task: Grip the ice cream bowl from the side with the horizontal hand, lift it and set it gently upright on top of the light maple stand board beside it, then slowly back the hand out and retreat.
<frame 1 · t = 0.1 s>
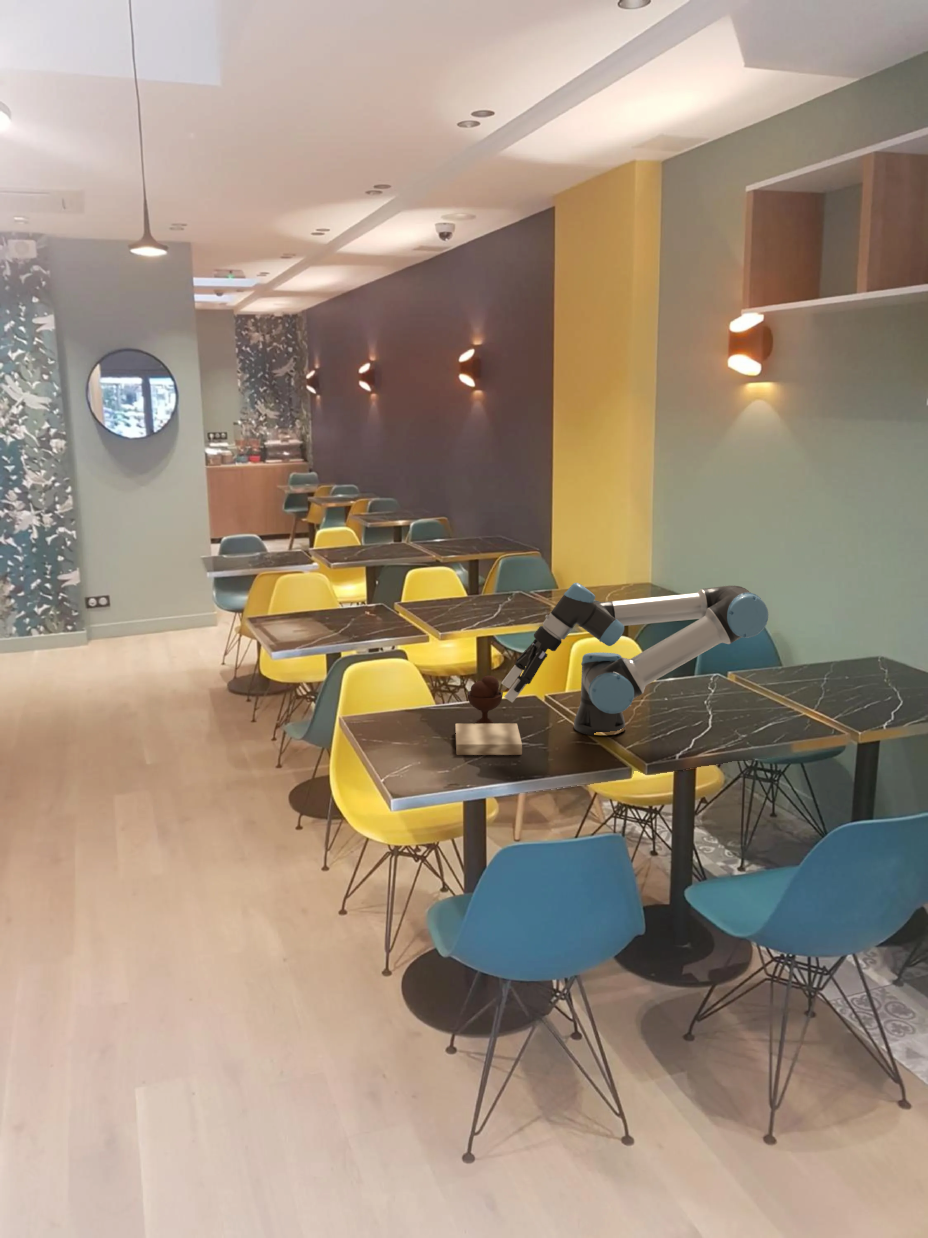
hand: (506, 692, 276), 15 cm above the table, tool tilted 35°, fingers open, 13 cm apart
maple stand board: (487, 743, 279), on the table
ice cream bowl: (484, 724, 297), on the table
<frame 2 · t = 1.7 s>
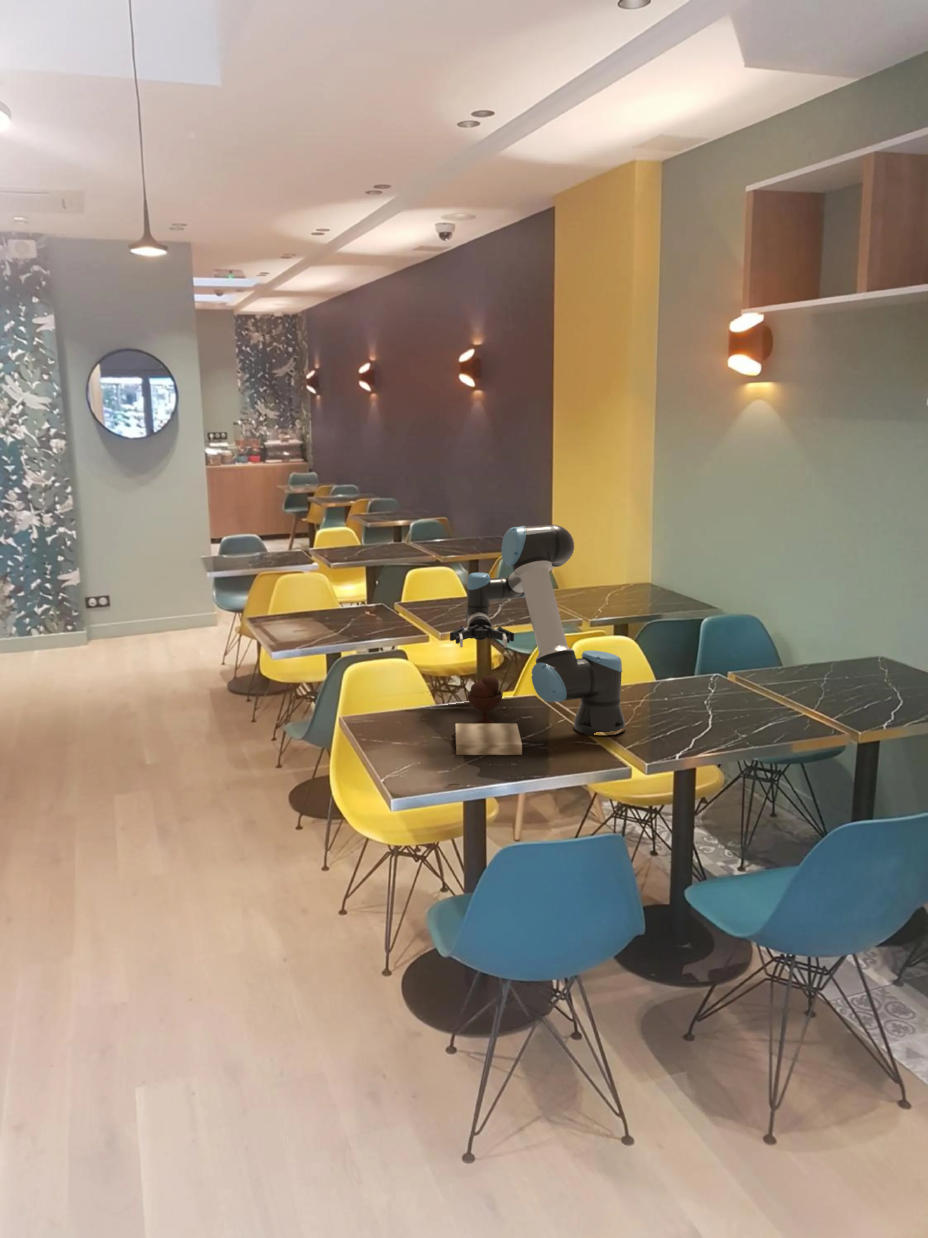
hand: (483, 643, 302), 23 cm above the table, tool horizontal, fingers open, 13 cm apart
nothing on the table moved.
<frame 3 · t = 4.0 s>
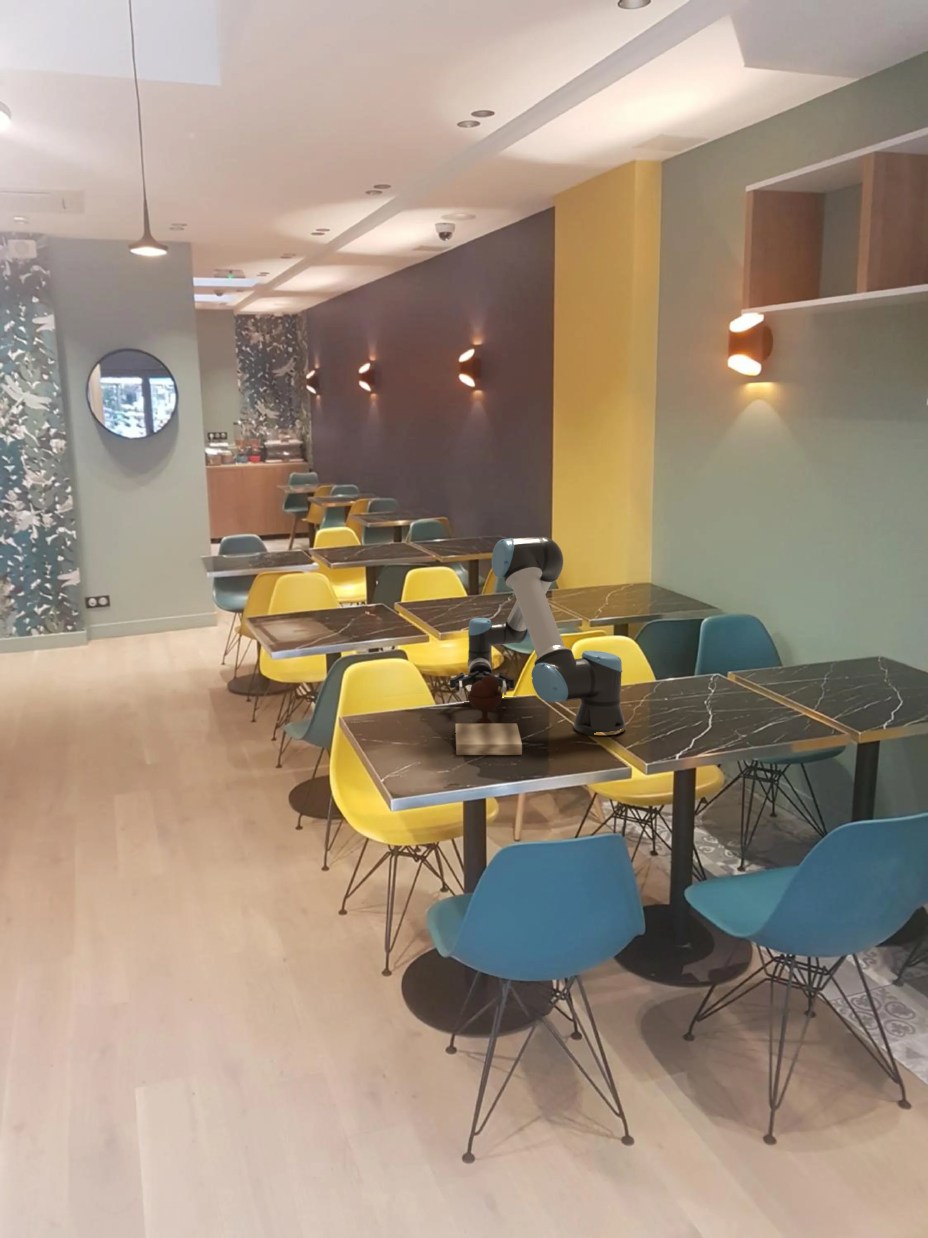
hand: (483, 690, 301), 8 cm above the table, tool horizontal, fingers open, 13 cm apart
nothing on the table moved.
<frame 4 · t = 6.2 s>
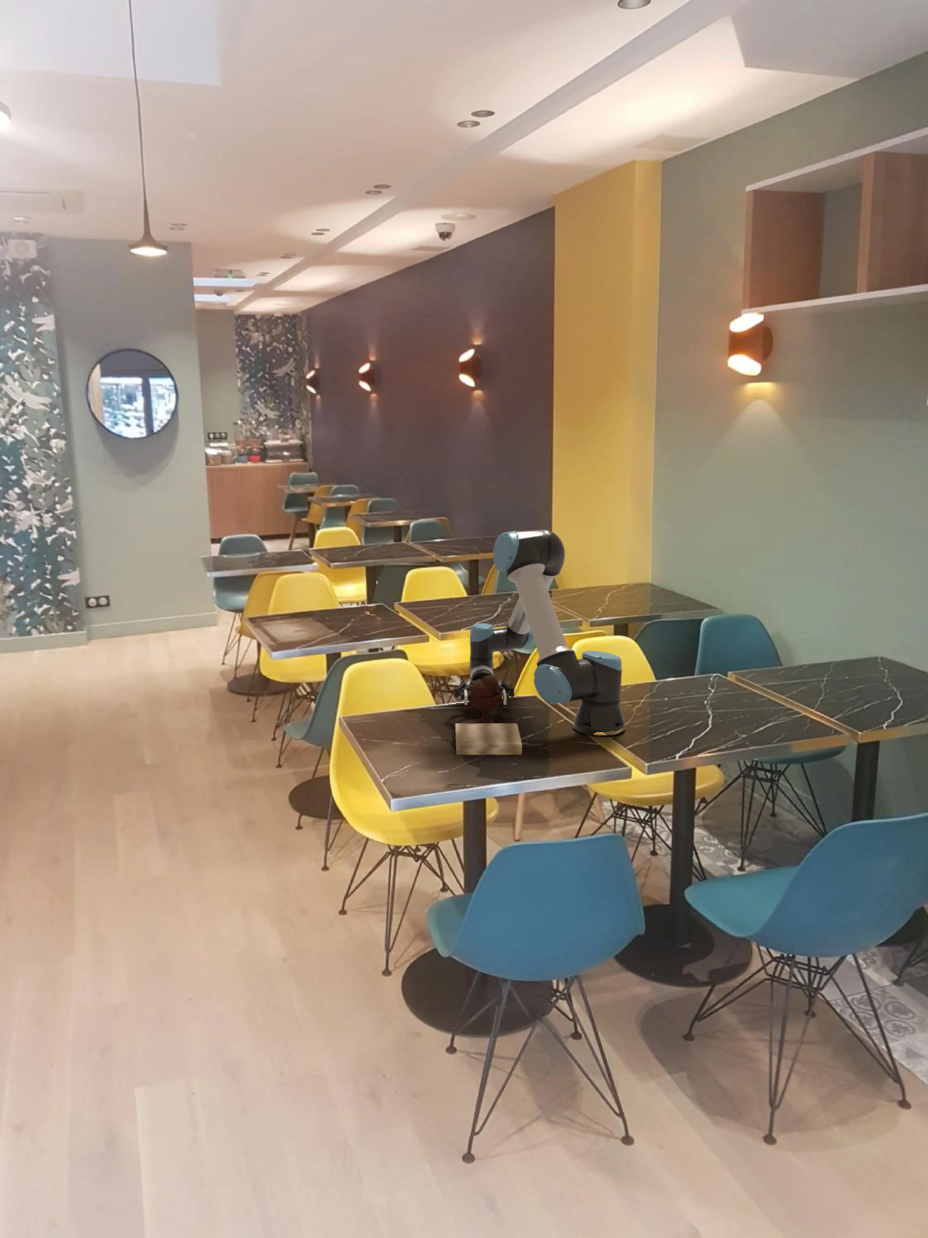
hand: (485, 700, 291), 9 cm above the table, tool horizontal, fingers closed on ice cream bowl, 11 cm apart
ice cream bowl: (484, 724, 297), on the table, touching gripper
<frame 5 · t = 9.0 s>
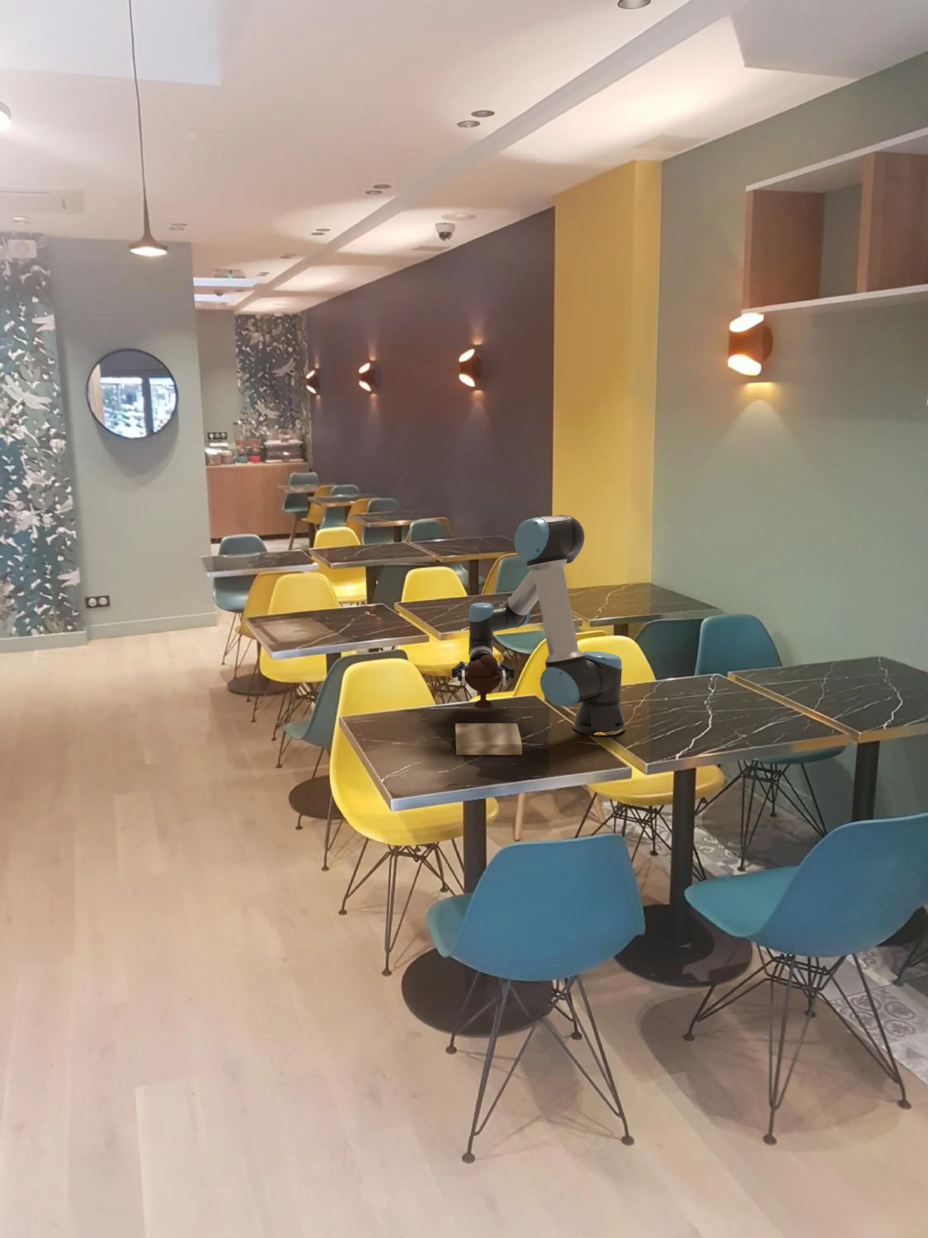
hand: (483, 680, 277), 18 cm above the table, tool horizontal, fingers closed on ice cream bowl, 11 cm apart
ice cream bowl: (483, 706, 283), point 9 cm above the table, touching gripper
when the fingers open (13 cm above the table, at t = 11.9 s): ice cream bowl drops 1 cm, resting on maple stand board.
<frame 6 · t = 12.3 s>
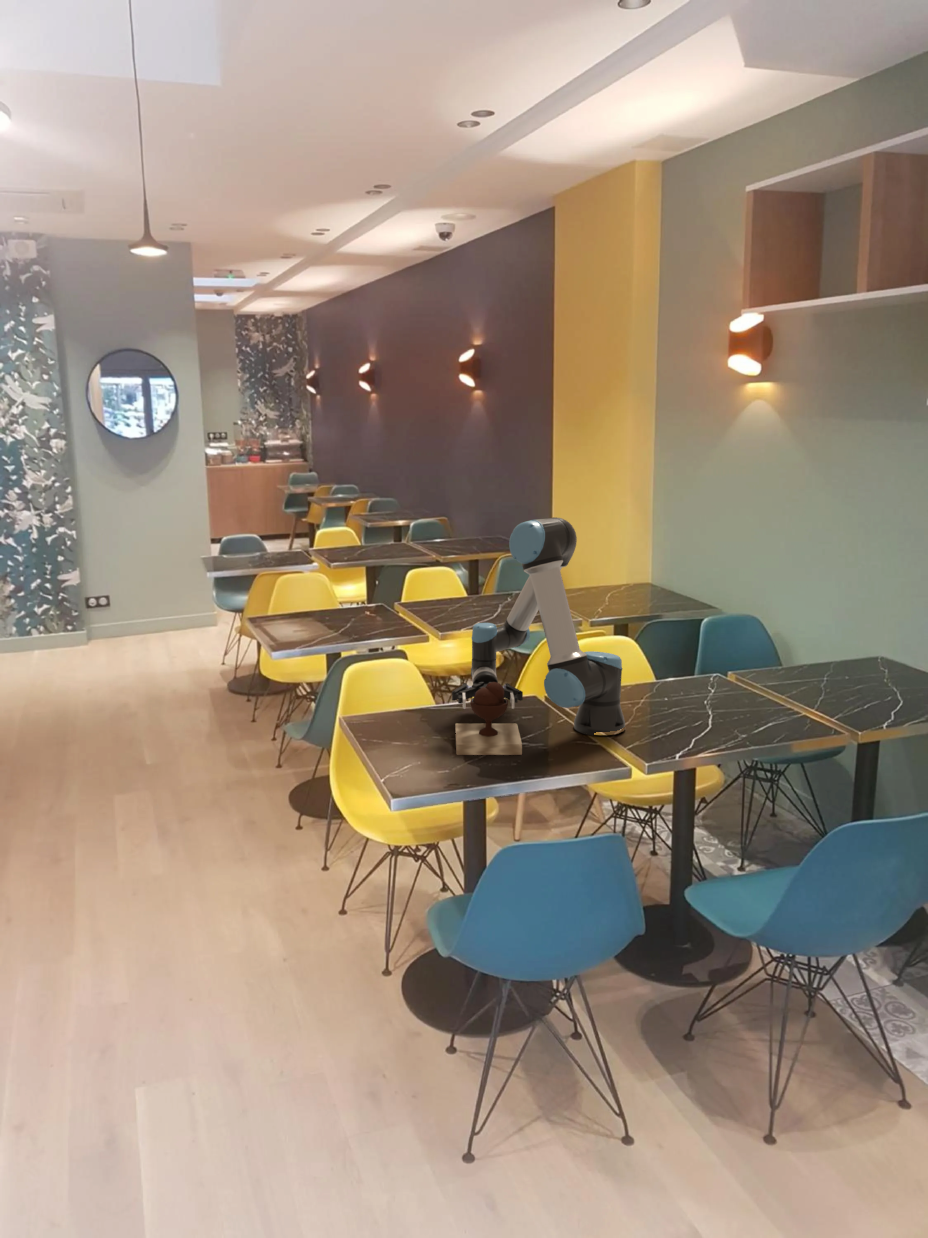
hand: (488, 704, 273), 13 cm above the table, tool horizontal, fingers open, 13 cm apart
ice cream bowl: (488, 733, 279), point 3 cm above the table, touching maple stand board
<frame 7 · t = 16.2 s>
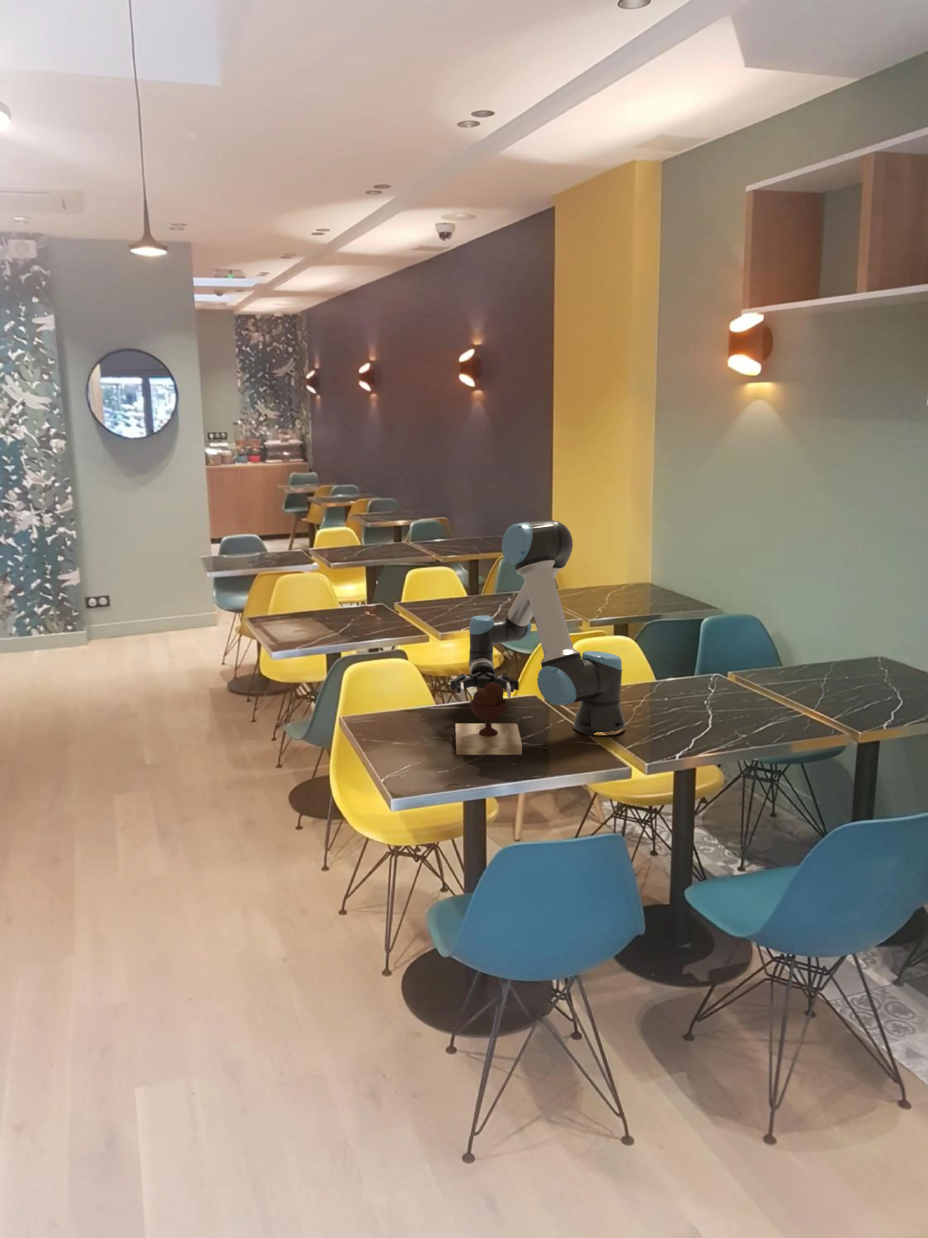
hand: (486, 693, 283), 13 cm above the table, tool horizontal, fingers open, 13 cm apart
nothing on the table moved.
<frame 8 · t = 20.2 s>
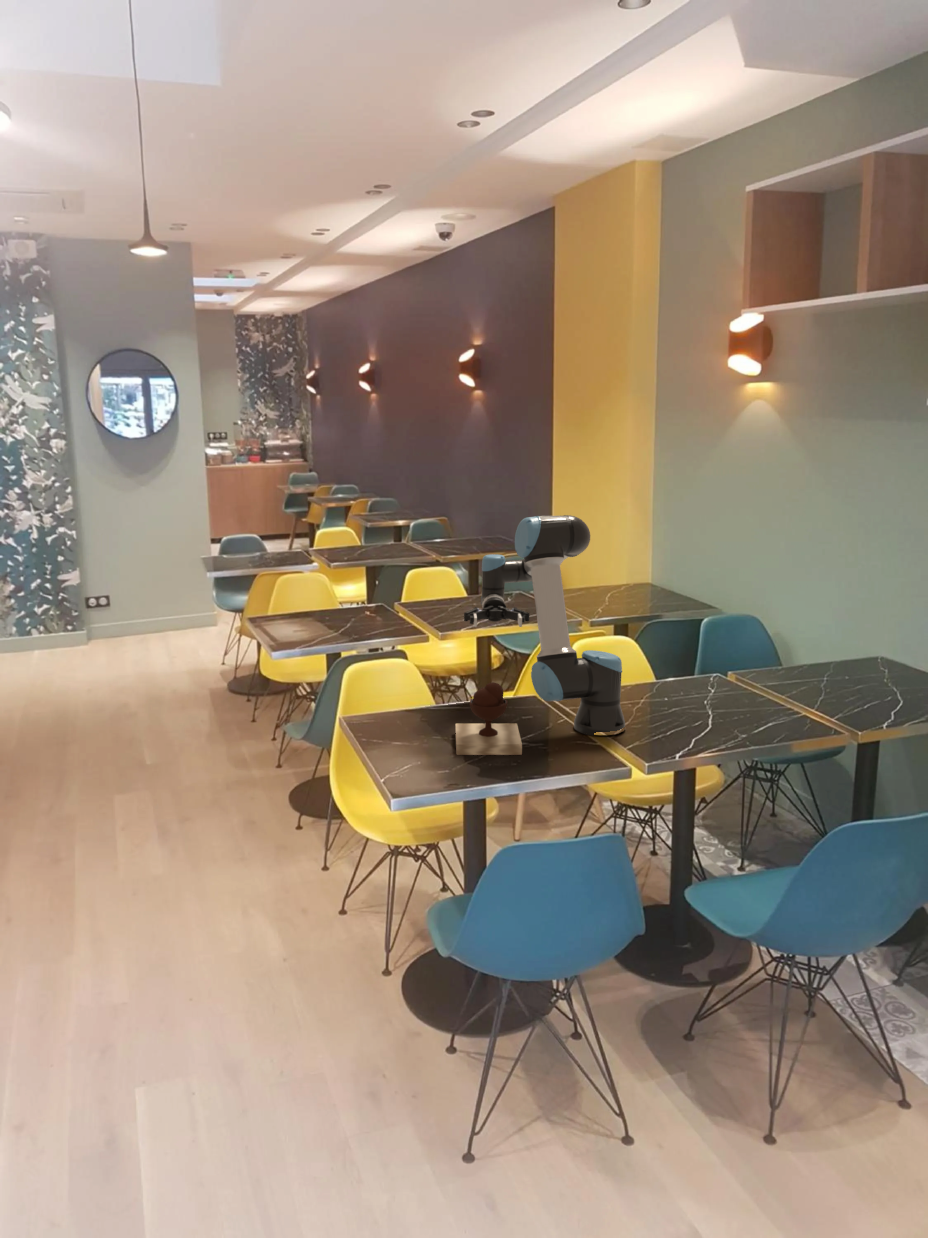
hand: (498, 622, 296), 30 cm above the table, tool horizontal, fingers open, 13 cm apart
nothing on the table moved.
at the end: ice cream bowl inside the target area on the maple stand board (0.2 cm from its centre), point 2.8 cm above the maple stand board's base; ice cream bowl tilted 0°; the gripper is holding nothing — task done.
